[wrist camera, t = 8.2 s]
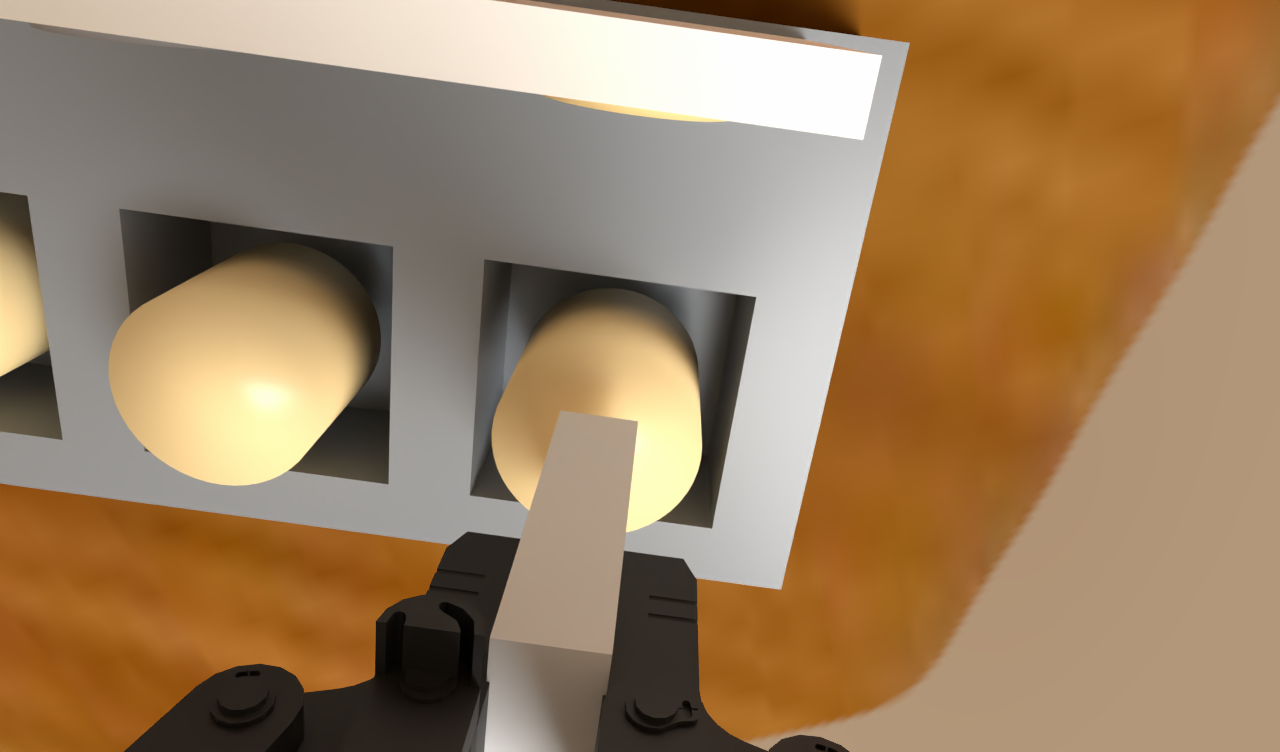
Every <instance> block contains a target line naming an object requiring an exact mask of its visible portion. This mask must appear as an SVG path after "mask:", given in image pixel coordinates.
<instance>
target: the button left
mask: <svg viewBox="0 0 1280 752" xmlns="http://www.w3.org/2000/svg"><path fill="white" fill-rule="evenodd" d="M49 350H50V349H49V342H48V335H47V328H46V321H45V314H44V308H43V301H42V294H41V287H40V280H39V273H38V266H37V259H36V252H35V246H34V239H33V232H32V225H31V218H30V211H29V204H28V197H27V196H26V195H19V194H12V193H5V192H0V376H2V375H4V374H6V373H8V372H10V371H12V370H14V369H15V368H17V367H19V366H21V365H23V364H25V363H27V362H29V361H30V360H32V359H34V358H36V357H38V356H40V355H42V354H44V353H45V352H47V351H49Z"/></svg>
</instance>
